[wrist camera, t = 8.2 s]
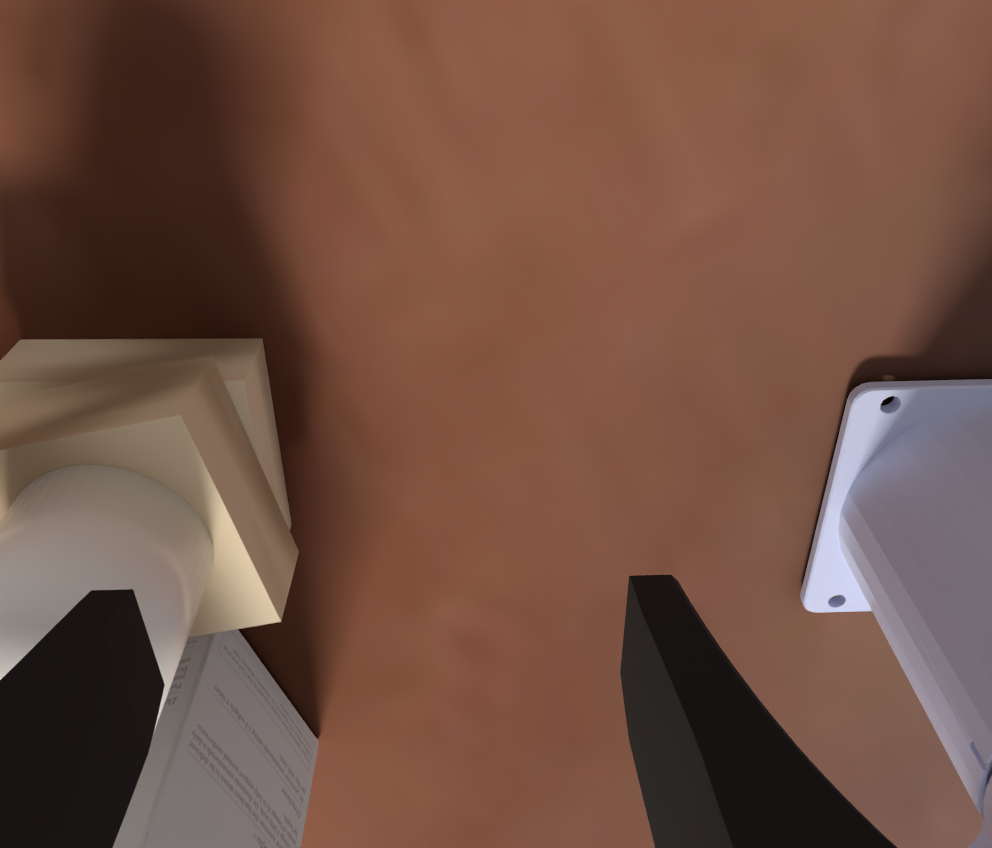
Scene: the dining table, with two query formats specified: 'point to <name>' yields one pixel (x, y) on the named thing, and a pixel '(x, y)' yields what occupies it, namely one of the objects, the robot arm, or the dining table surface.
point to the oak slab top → (167, 471)
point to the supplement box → (223, 757)
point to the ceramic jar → (101, 557)
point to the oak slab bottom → (99, 358)
